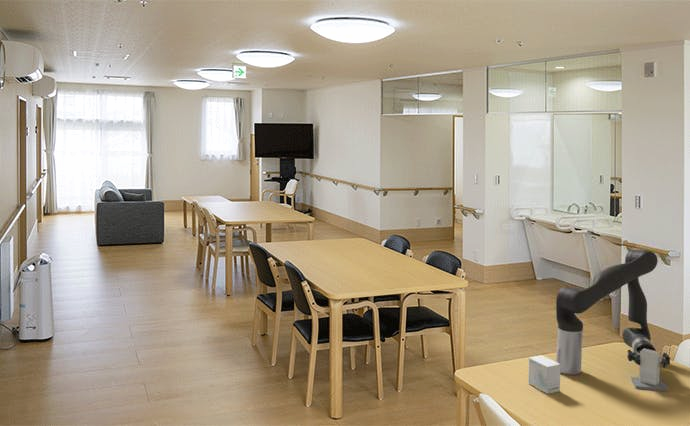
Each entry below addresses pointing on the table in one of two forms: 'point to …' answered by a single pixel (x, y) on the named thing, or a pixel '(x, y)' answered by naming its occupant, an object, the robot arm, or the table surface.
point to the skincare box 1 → (544, 374)
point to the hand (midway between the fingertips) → (651, 363)
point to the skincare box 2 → (649, 366)
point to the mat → (649, 385)
